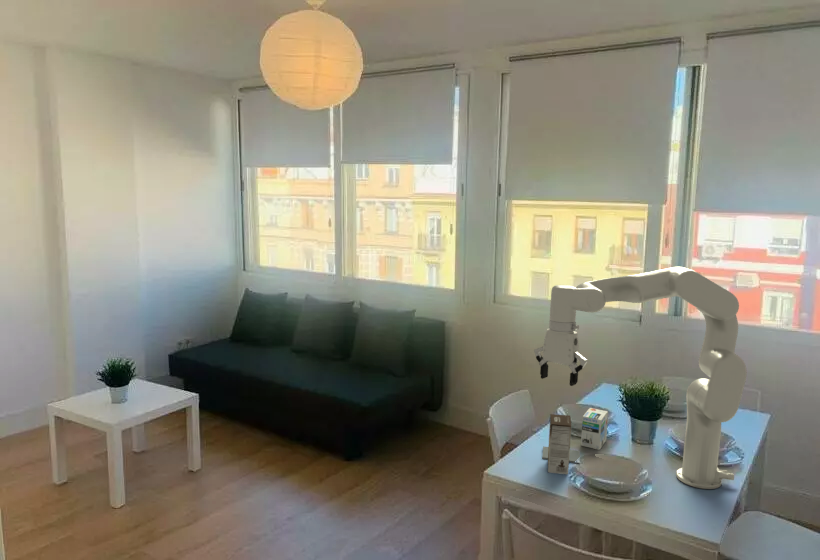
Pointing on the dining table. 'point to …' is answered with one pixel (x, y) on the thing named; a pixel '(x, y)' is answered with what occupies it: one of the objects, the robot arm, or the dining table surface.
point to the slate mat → (572, 456)
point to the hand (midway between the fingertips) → (558, 381)
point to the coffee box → (559, 443)
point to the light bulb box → (594, 428)
